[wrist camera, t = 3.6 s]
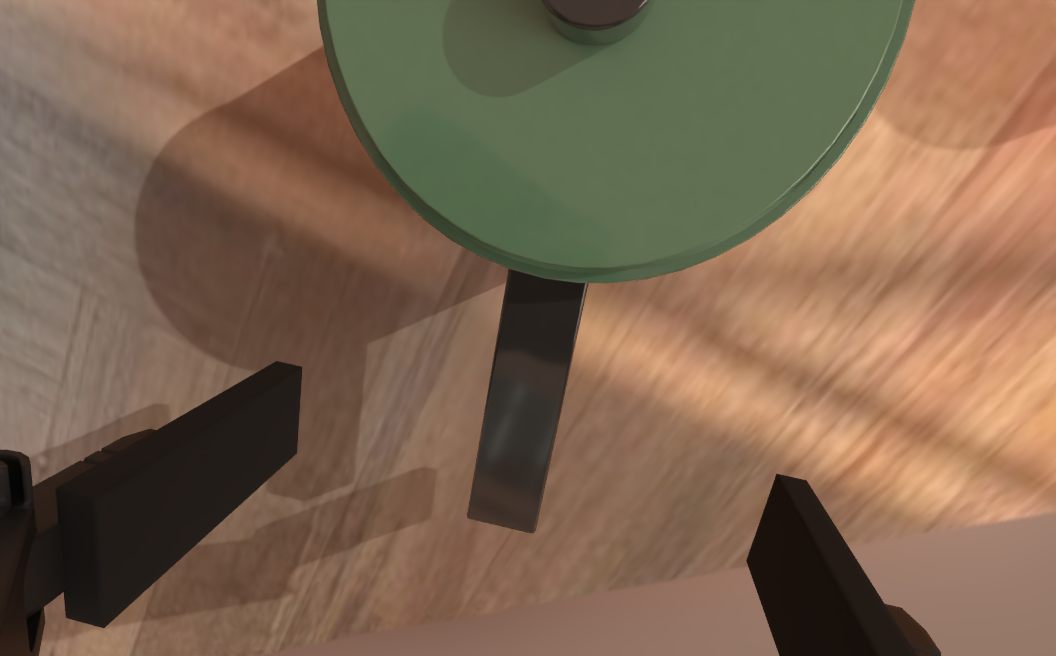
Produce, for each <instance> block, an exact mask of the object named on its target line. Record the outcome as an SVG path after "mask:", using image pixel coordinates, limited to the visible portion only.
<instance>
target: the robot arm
mask: <svg viewBox="0 0 1056 656" xmlns="http://www.w3.org/2000/svg"><path fill="white" fill-rule="evenodd" d="M301 379H302V367H301V366H296V365H292V364H287V363H283V362H279V361H276V362H274V363H272V364H271V365H269V366H267V367H265V368H264V369H262V370H260V371H259V372H257V373H255V374H253V375H252V376H250V377H248V378H246V379H245V380H243V381H241V382H239V383H238V384H236V385H234V386H233V387H231V388H229V389H227V390H226V391H224V392H222V393H220V394H219V395H217V396H215V397H213V398H212V399H210V400H208V401H206V402H205V403H203V404H201V405H200V406H198V407H196V408H194V409H193V410H191V411H189V412H187V413H186V414H184V415H182V416H180V417H179V418H177V419H175V420H173V421H172V422H170V423H168V424H167V425H165V426H163V427H161V428H160V429H158V430H153V429H148V430H144V431H141V432H138V433H135V434H131V435H128V436H125V437H122V438H120V439H119V440H117V441H115V442H113V443H111V444H110V445H108V446H106V447H104V448H102V450H101V452H100V451H97V452H95V453H93V454H91V455H90V456H88V457H86V458H85V459H84V461H79V462H77V463H75V464H73V465H71V466H70V467H68V468H66V469H64V470H62V471H61V472H59V473H57V474H55V475H53V476H51V477H50V478H48V479H46V480H44V481H42V482H41V483H39V484H37V485H35V486H33V487H32V476H31V465H30V460H29V457H28V456H26V455H24V454H23V453H21V452H16V451H11V450H0V656H39V651H40V646H41V641H42V635H43V630H44V625H45V616H44V606H46V605H47V604H48V603H50V602H51V601H52V600H54V599H55V598H56V597H57V596H59V595H60V594H61V593H63V592H64V600H65V613H66V618H69V619H72V620H76V621H80V622H83V623H87V624H91V625H94V626H98V627H102V628H105V627H106V626H107V625H108V624H109V623H110V622H111V621H113V620H114V619H115V618H116V617H117V616H118V615H119V614H120V613H121V612H122V611H124V610H125V609H126V608H127V607H128V606H129V605H130V604H131V603H132V602H133V601H135V600H136V599H137V598H138V597H139V596H140V595H141V594H142V593H143V592H144V591H146V590H147V589H148V588H149V587H150V586H151V585H152V584H153V583H154V582H155V581H157V580H158V579H159V578H160V577H161V576H162V575H163V574H164V573H165V572H167V571H168V570H169V569H170V568H171V567H172V566H173V565H174V564H175V563H176V562H178V561H179V560H180V559H181V558H182V557H183V556H184V555H185V554H186V553H187V552H189V551H190V550H191V549H192V548H193V547H194V546H195V545H196V544H197V543H198V542H200V541H201V540H202V539H203V538H204V537H205V536H206V535H207V534H208V533H209V532H211V531H212V530H213V529H214V528H215V527H216V526H217V525H218V524H219V523H220V522H222V521H223V520H224V519H225V518H226V517H227V516H228V515H229V514H230V513H232V512H233V511H234V510H235V509H236V508H237V507H238V506H239V505H240V504H241V503H243V502H244V501H245V500H246V499H247V498H248V497H249V496H250V495H251V494H252V493H254V492H255V491H256V490H257V489H258V488H259V487H260V486H261V485H262V484H263V483H265V482H266V481H267V480H268V479H269V478H270V477H271V476H272V475H273V474H274V473H276V472H277V471H278V470H279V469H280V468H281V467H282V466H283V465H284V464H285V463H287V462H288V461H289V460H290V459H291V458H292V457H293V456H294V455H295V454H297V442H298V427H299V411H300V395H301ZM746 561H747V564H748V567H749V570H750V572H751V575H752V578H753V581H754V584H755V587H756V590H757V593H758V595H759V598H760V601H761V604H762V607H763V610H764V612H765V616H766V618H767V621H768V624H769V627H770V630H771V633H772V636H773V638H774V641H775V644H776V647H777V650H778V652H779V656H941V652H940V650H939V649H938V648H937V646H936V645H935V643H934V642H933V641H932V639H931V637H930V636H929V634H928V633H927V631H926V630H925V629H924V628H923V627H922V626H921V625H919V624H918V623H917V622H916V621H915V620H914V619H913V618H912V617H911V616H910V615H909V614H907V613H906V611H904V610H903V609H902V608H900V607H896V606H891V605H887V604H884V602H883V601H882V599H881V598H880V596H879V594H878V593H877V591H876V590H875V588H874V586H873V585H872V583H871V582H870V580H869V579H868V577H867V575H866V574H865V572H864V571H863V569H862V568H861V566H860V564H859V563H858V561H857V559H856V558H855V556H854V555H853V553H852V552H851V550H850V548H849V547H848V545H847V544H846V542H845V541H844V539H843V537H842V536H841V534H840V533H839V531H838V529H837V528H836V526H835V525H834V523H833V522H832V520H831V518H830V517H829V515H828V514H827V512H826V510H825V509H824V507H823V506H822V504H821V503H820V501H819V499H818V498H817V496H816V495H815V493H814V491H813V490H812V488H811V487H810V485H809V484H808V482H807V480H802V479H798V478H793V477H789V476H784V475H780V474H776V477H775V480H774V483H773V486H772V489H771V492H770V494H769V497H768V500H767V503H766V506H765V509H764V512H763V514H762V517H761V520H760V523H759V526H758V529H757V532H756V535H755V537H754V540H753V543H752V546H751V549H750V552H749V555H748V557H747V560H746Z"/></svg>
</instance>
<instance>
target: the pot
mask: <svg viewBox="0 0 1056 656" xmlns="http://www.w3.org/2000/svg"><path fill="white" fill-rule="evenodd" d="M914 3H915V0H317V5H318V15H319V24H320V30H321V34H322V39H323V43H324V48H325V52H326V57H327V61H328V66H329V69H330V72H331V75H332V78H333V80H334V83H335V86H336V89H337V92H338V95H339V98H340V101H341V104H342V106H343V108H344V110H345V112H346V114H347V116H348V118H349V120H350V122H351V125H352V127H353V129H354V131H355V133H356V135H357V137H358V139H359V140H360V142H361V143H362V145H363V147H364V148H365V150H366V151H367V153H368V155H369V156H370V158H371V159H372V161H373V163H374V164H375V166H376V167H377V169H378V170H379V171H380V172H381V174H382V175H383V176H384V177H385V179H386V180H387V181H388V182H389V184H390V185H391V186H392V187H393V188H394V190H395V191H396V192H397V193H398V195H399V196H400V197H401V198H402V199H403V200H404V201H405V202H406V203H407V204H408V205H410V206H411V207H412V208H413V209H414V210H415V211H416V212H417V213H418V214H419V215H420V216H421V217H422V218H423V219H424V220H425V221H427V222H428V223H429V224H431V225H432V226H433V227H435V228H436V229H437V230H439V231H440V232H441V233H442V234H444V235H445V236H446V237H448V238H449V239H450V240H452V241H454V242H455V243H457V244H459V245H461V246H462V247H464V248H466V249H468V250H469V251H471V252H473V253H475V254H476V255H478V256H480V257H482V258H484V259H487V260H489V261H492V262H494V263H496V264H499V265H501V266H504V267H506V268H509V269H508V275H507V281H506V287H505V293H504V299H503V305H502V311H501V317H500V323H499V329H498V335H497V341H496V346H495V352H494V358H493V364H492V370H491V376H490V382H489V388H488V394H487V400H486V406H485V412H484V418H483V424H482V429H481V435H480V441H479V447H478V453H477V459H476V465H475V471H474V477H473V483H472V489H471V495H470V501H469V507H468V512H467V516H468V518H469V519H473V520H477V521H481V522H485V523H490V524H494V525H498V526H502V527H507V528H511V529H515V530H519V531H524V532H528V533H534V532H535V531H536V526H537V522H538V517H539V512H540V508H541V503H542V498H543V493H544V489H545V484H546V479H547V475H548V470H549V465H550V461H551V456H552V451H553V447H554V442H555V437H556V433H557V428H558V423H559V418H560V414H561V409H562V404H563V400H564V395H565V390H566V386H567V381H568V376H569V372H570V367H571V362H572V358H573V353H574V348H575V343H576V339H577V334H578V329H579V325H580V320H581V315H582V311H583V306H584V301H585V297H586V292H587V287H588V283H619V282H627V281H636V280H644V279H649V278H653V277H657V276H661V275H665V274H669V273H673V272H677V271H681V270H684V269H686V268H689V267H692V266H694V265H697V264H699V263H702V262H704V261H707V260H710V259H712V258H715V257H717V256H719V255H721V254H723V253H724V252H726V251H728V250H730V249H732V248H734V247H736V246H738V245H739V244H741V243H743V242H745V241H747V240H749V239H750V238H752V237H753V236H755V235H756V234H758V233H759V232H760V231H762V230H763V229H765V228H766V227H768V226H769V225H770V224H772V223H773V222H775V221H776V220H778V219H779V218H780V217H782V216H783V215H784V214H785V213H786V212H787V211H789V210H790V209H791V208H792V207H793V206H794V205H795V204H796V203H798V202H799V201H800V200H801V199H802V198H803V197H804V196H805V195H807V194H808V193H809V192H810V191H811V190H812V189H813V188H814V187H815V186H816V185H817V184H818V182H819V181H820V180H821V179H822V178H823V177H824V176H825V175H826V173H827V172H828V171H829V170H830V169H831V168H832V167H833V166H834V165H835V163H836V162H837V161H838V160H839V159H840V158H841V156H842V155H843V153H844V152H845V151H846V149H847V148H848V146H849V145H850V144H851V142H852V141H853V139H854V138H855V136H856V135H857V134H858V132H859V131H860V129H861V128H862V127H863V125H864V124H865V122H866V120H867V119H868V117H869V115H870V113H871V111H872V109H873V108H874V106H875V104H876V102H877V100H878V98H879V97H880V95H881V93H882V91H883V89H884V87H885V86H886V84H887V81H888V79H889V77H890V74H891V72H892V69H893V67H894V64H895V62H896V59H897V57H898V54H899V52H900V49H901V47H902V45H903V42H904V39H905V36H906V32H907V28H908V25H909V21H910V17H911V14H912V10H913V7H914Z"/></svg>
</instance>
